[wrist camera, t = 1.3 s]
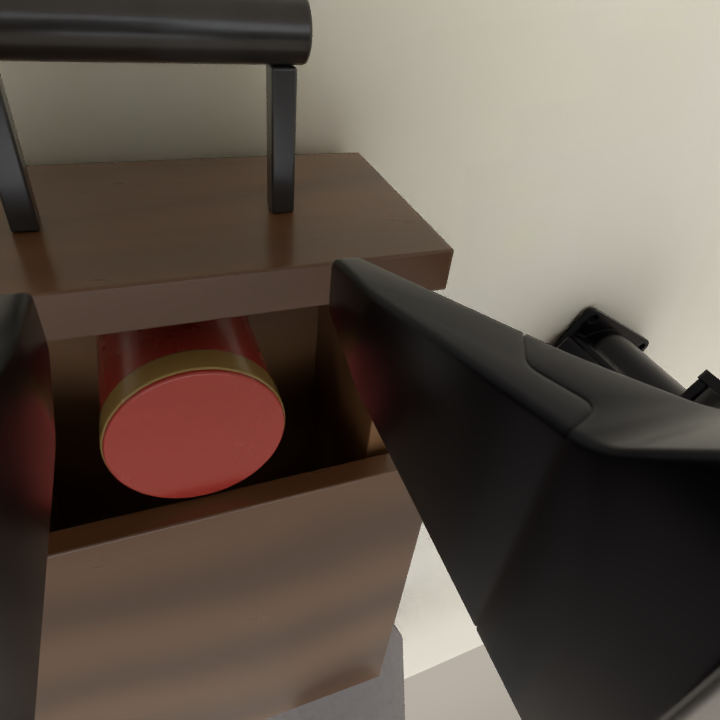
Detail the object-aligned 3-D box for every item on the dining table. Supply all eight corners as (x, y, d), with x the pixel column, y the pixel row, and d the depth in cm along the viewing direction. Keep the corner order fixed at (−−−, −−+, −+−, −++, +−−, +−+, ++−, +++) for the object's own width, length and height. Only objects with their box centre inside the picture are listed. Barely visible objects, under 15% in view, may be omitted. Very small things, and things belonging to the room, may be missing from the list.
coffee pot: (241, 689, 44) (294, 948, 34) (237, 617, 37) (304, 916, 27) (476, 608, 52) (580, 799, 41) (511, 534, 45) (647, 743, 34)
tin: (264, 279, 20) (318, 394, 15) (204, 379, 21) (237, 507, 17) (127, 225, 17) (147, 349, 13) (70, 346, 18) (70, 491, 14)
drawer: (-237, -68, 12) (-452, -15, 7) (374, -24, 16) (504, 27, 11) (33, 526, 24) (24, 689, 20) (330, 458, 29) (381, 577, 24)
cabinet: (-50, 367, 20) (-103, 594, 14) (348, 311, 24) (440, 460, 18) (62, 607, 30) (61, 796, 24) (326, 535, 35) (380, 676, 29)
